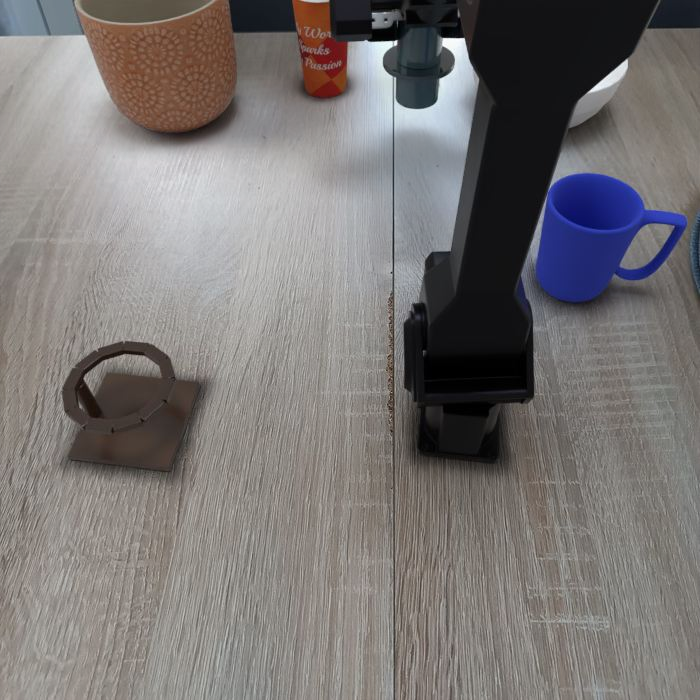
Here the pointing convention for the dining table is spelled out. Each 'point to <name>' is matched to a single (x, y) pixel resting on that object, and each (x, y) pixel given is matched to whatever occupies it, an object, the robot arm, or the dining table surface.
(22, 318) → the dining table surface
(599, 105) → the bowl
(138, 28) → the planter
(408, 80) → the blue-grey flanged cylinder
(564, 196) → the mug
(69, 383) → the cup holder
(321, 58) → the paper cup
